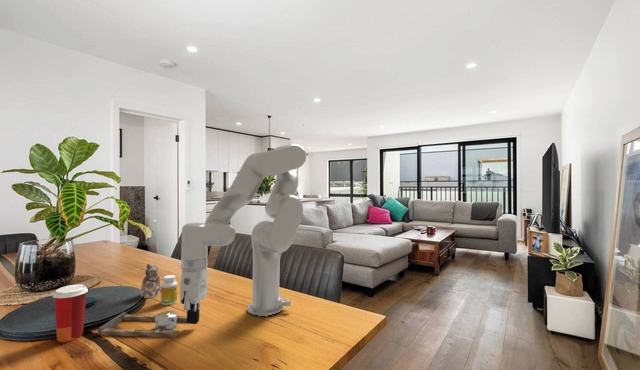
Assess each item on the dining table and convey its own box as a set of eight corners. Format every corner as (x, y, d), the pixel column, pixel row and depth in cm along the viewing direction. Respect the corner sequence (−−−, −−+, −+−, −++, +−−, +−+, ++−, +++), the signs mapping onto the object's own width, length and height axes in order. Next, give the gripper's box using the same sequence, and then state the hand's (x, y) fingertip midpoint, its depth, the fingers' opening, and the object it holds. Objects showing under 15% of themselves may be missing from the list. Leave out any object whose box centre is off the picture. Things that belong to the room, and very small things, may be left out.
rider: (180, 323, 94) (180, 310, 94) (170, 333, 88) (170, 318, 88) (161, 323, 94) (161, 309, 94) (150, 332, 88) (151, 318, 88)
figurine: (145, 299, 112) (145, 268, 112) (137, 295, 117) (137, 264, 117) (164, 294, 118) (164, 264, 118) (156, 290, 122) (156, 261, 122)
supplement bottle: (170, 306, 107) (170, 279, 107) (157, 304, 108) (158, 278, 108) (180, 300, 112) (180, 275, 112) (167, 299, 114) (168, 273, 114)
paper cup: (85, 327, 90) (86, 282, 90) (88, 337, 85) (89, 288, 85) (50, 336, 85) (51, 288, 85) (52, 347, 79) (53, 295, 79)
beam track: (193, 319, 97) (193, 313, 97) (176, 337, 86) (176, 330, 86) (123, 318, 97) (123, 311, 97) (97, 335, 86) (98, 328, 86)
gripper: (196, 270, 84) (194, 335, 84) (215, 257, 99) (213, 312, 99) (169, 270, 84) (168, 334, 84) (192, 257, 99) (191, 312, 99)
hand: (192, 322), depth 91 cm, fingers closed
